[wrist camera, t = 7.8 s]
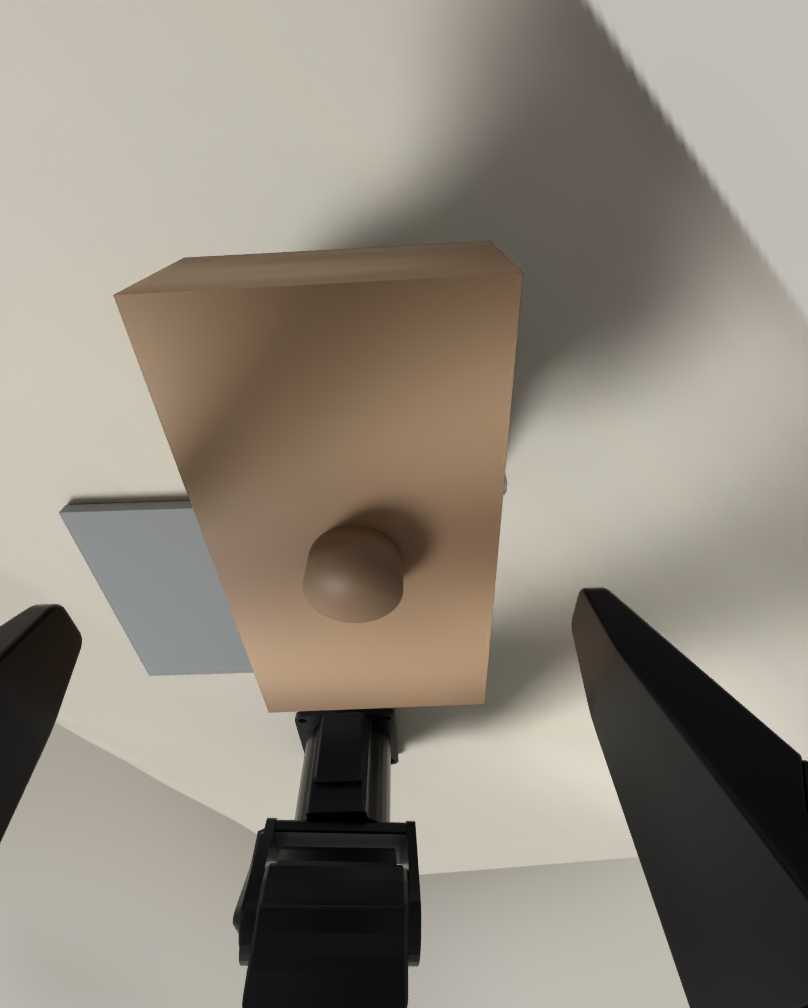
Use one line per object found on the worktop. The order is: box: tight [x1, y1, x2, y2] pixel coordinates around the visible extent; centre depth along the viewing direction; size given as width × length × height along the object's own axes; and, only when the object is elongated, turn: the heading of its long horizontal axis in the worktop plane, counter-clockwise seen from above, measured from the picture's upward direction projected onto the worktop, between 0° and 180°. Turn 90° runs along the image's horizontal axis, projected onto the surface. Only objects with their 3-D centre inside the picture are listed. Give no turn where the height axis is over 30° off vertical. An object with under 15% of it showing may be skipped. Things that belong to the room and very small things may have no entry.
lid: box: [113, 241, 523, 713], centre depth 11 cm, size 11×6×4 cm, turn 3°
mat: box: [59, 501, 254, 676], centre depth 26 cm, size 12×12×1 cm
